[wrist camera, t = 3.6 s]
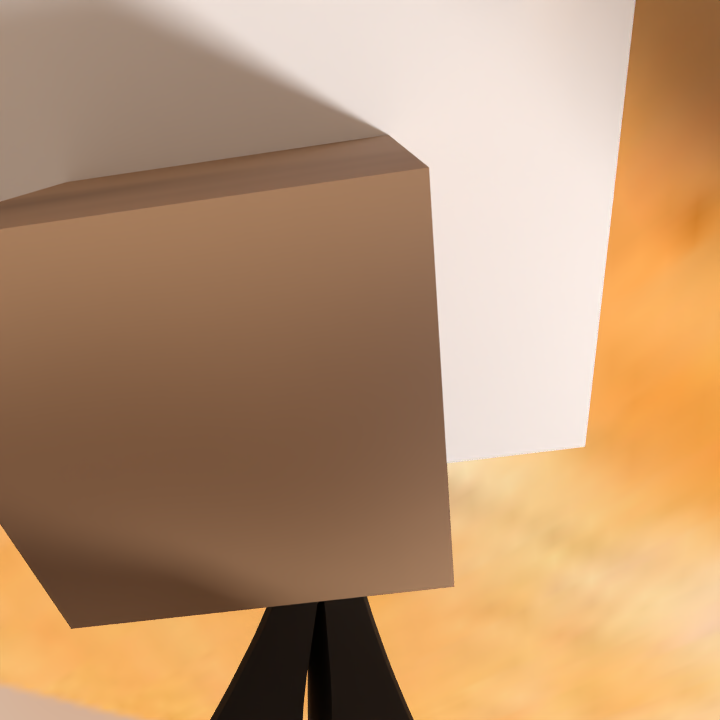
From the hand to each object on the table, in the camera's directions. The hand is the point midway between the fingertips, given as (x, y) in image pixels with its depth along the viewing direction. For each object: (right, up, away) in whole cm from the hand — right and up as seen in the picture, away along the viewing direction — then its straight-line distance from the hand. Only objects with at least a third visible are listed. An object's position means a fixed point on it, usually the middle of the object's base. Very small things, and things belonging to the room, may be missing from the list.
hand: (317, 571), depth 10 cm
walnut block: (-1, +5, -2) cm, 6 cm away
